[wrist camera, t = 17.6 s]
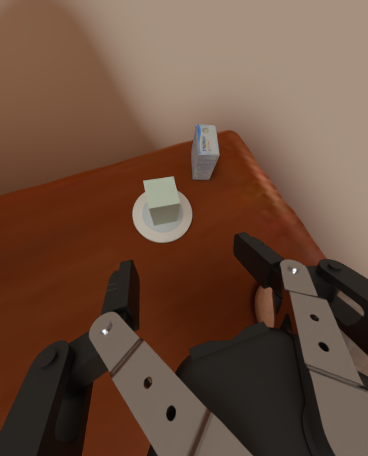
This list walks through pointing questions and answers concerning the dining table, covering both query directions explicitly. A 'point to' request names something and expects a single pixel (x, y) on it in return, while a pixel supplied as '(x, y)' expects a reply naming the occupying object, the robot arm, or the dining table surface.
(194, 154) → the medicine box
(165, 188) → the sage block
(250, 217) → the dining table surface
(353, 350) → the ceramic jug
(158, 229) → the dish
